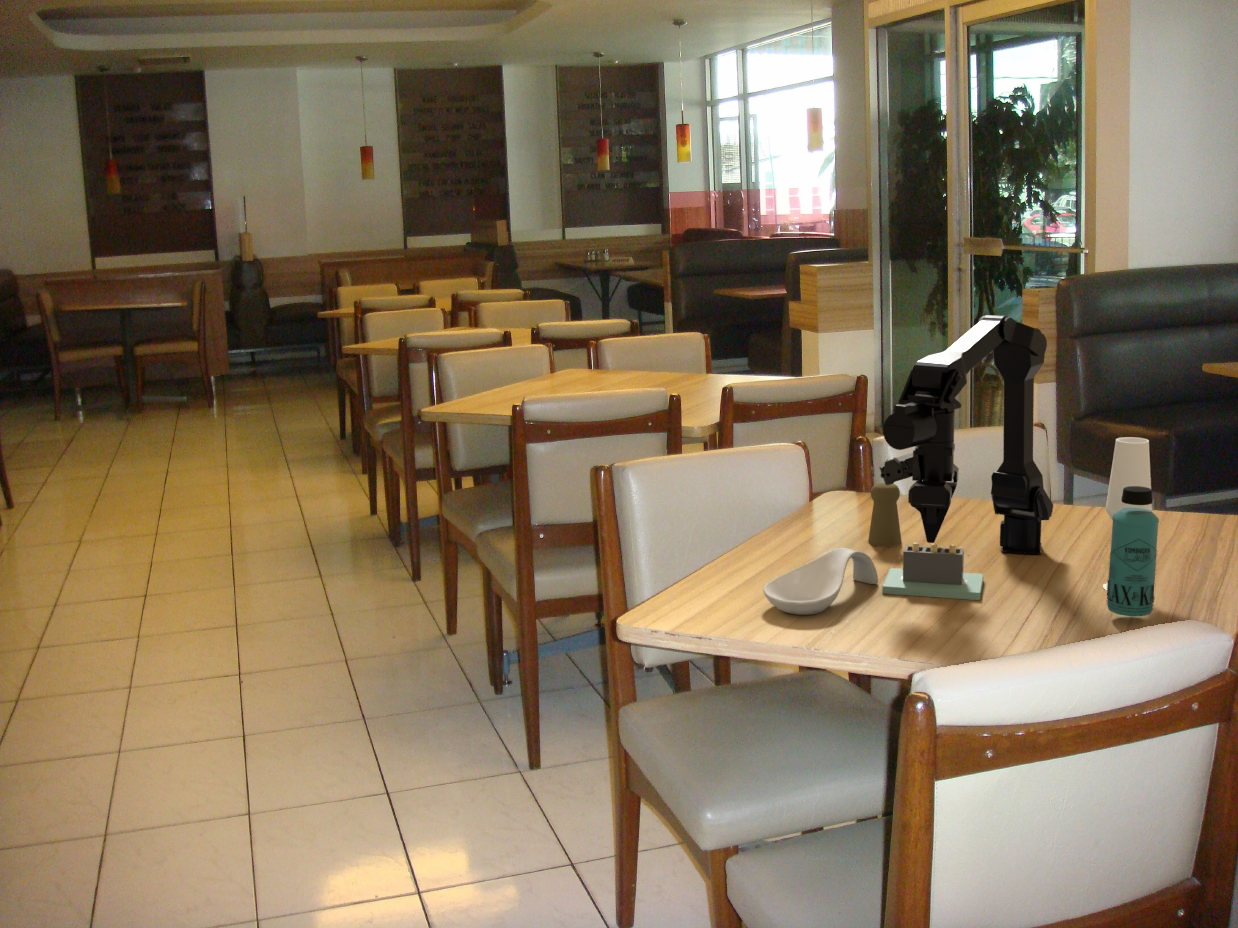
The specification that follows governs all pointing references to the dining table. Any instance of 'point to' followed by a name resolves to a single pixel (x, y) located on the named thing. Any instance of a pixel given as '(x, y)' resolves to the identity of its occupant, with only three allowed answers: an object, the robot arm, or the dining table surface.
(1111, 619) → the dining table surface
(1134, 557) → the beverage bottle
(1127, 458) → the white vase
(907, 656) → the dining table surface
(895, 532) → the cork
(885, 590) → the header board
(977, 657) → the dining table surface
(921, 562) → the plug housing
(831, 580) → the spoon rest
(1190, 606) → the dining table surface
